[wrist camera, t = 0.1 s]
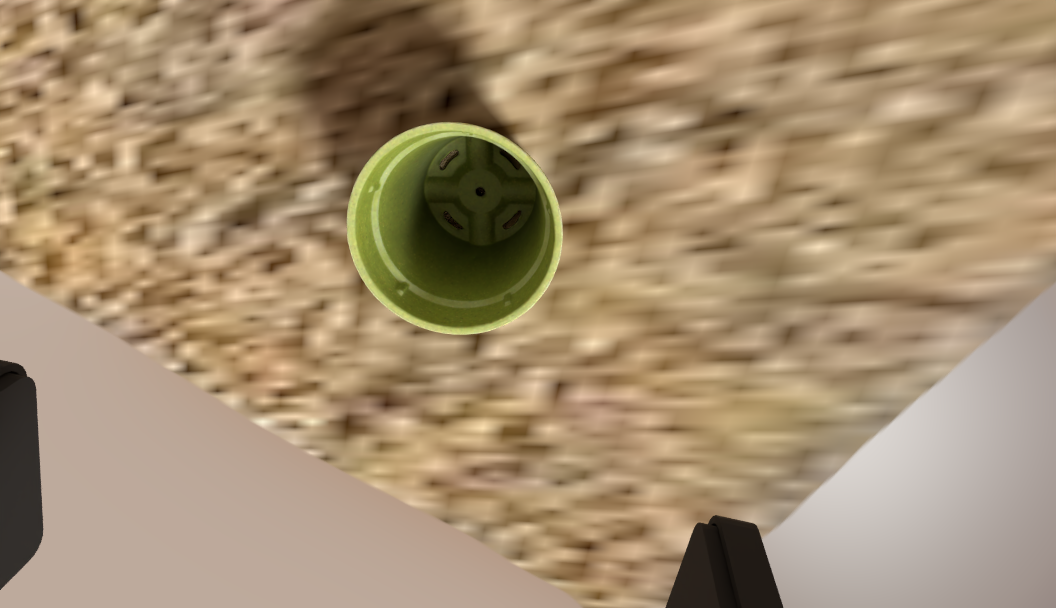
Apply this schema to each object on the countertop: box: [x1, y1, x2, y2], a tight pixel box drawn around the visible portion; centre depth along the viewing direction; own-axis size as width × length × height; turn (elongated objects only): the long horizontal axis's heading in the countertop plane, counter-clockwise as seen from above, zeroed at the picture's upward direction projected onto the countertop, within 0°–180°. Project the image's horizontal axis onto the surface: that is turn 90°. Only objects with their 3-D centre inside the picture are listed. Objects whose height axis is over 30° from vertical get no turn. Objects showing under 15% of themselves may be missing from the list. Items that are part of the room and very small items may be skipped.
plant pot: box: [347, 122, 563, 334], centre depth 37 cm, size 9×9×9 cm
